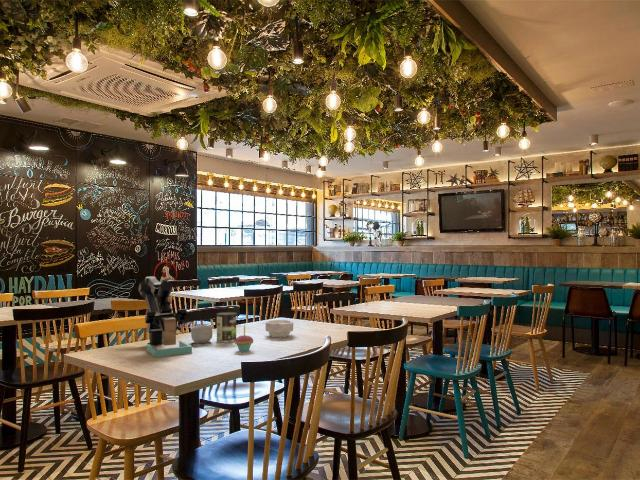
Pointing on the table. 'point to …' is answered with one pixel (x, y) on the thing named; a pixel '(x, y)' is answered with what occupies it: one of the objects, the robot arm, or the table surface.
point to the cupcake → (244, 342)
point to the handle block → (169, 331)
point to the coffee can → (226, 326)
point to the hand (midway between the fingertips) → (169, 330)
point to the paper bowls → (279, 327)
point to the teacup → (201, 333)
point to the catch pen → (170, 350)
